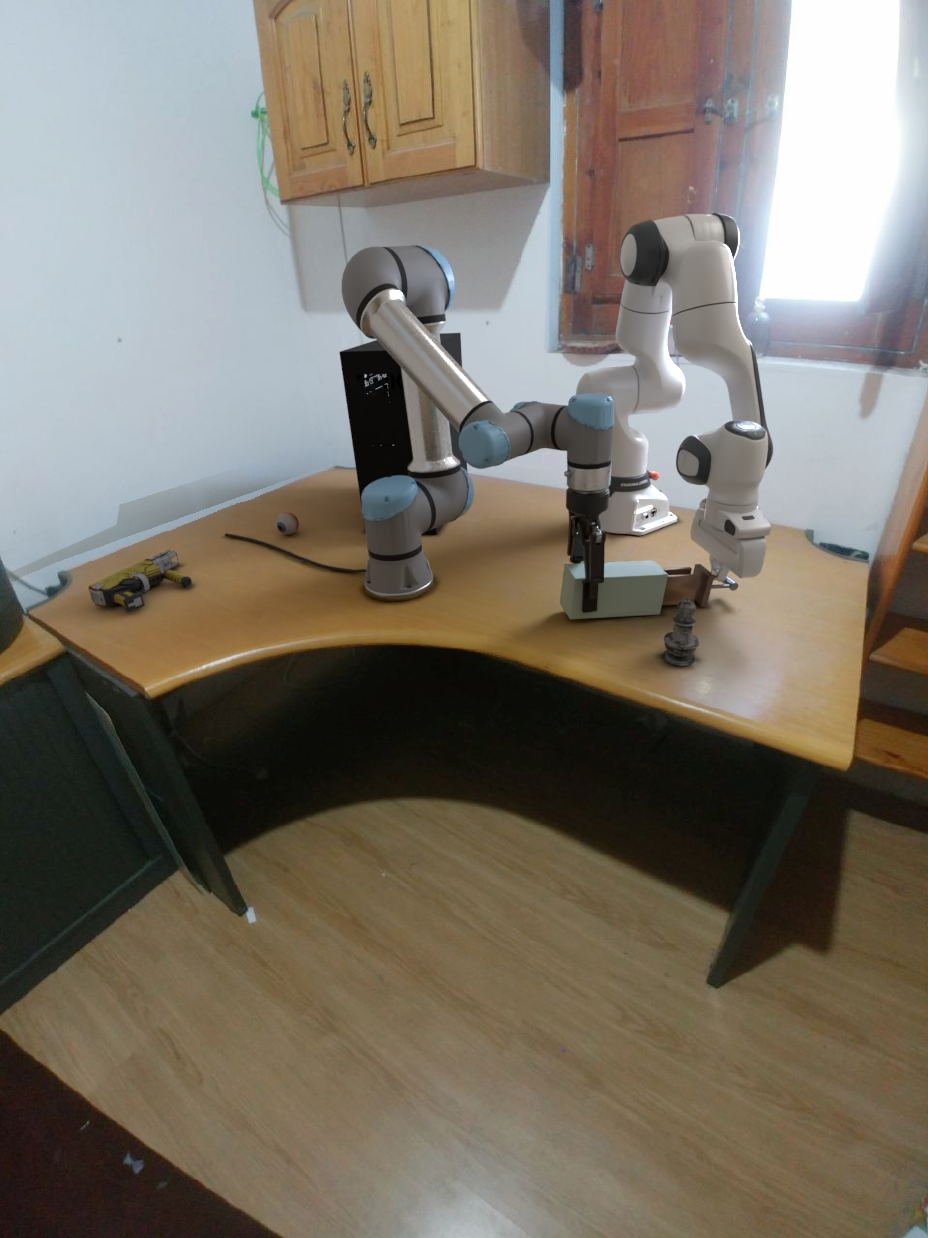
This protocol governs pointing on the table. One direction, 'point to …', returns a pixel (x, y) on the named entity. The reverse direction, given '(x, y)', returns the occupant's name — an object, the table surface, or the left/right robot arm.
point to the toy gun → (136, 582)
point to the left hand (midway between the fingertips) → (583, 601)
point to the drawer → (692, 585)
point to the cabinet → (616, 590)
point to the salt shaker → (681, 636)
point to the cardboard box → (384, 412)
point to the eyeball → (287, 523)
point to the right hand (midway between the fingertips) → (717, 578)
